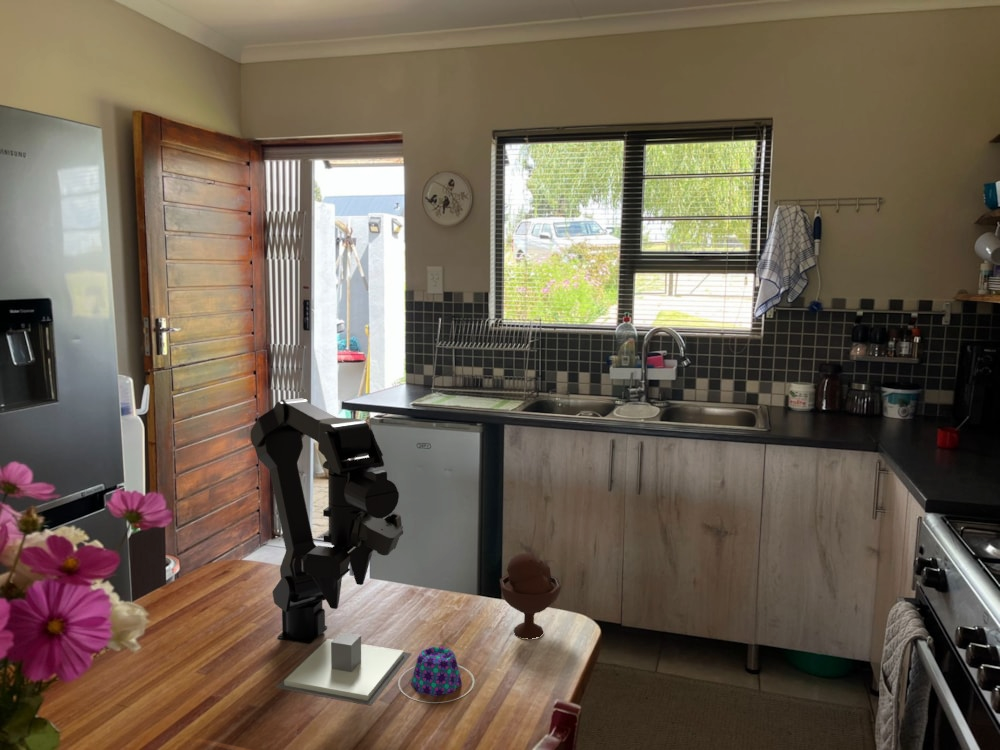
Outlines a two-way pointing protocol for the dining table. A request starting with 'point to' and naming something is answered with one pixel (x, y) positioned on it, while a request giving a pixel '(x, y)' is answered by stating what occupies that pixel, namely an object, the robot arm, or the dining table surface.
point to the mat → (344, 698)
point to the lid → (345, 667)
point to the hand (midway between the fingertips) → (347, 595)
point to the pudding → (436, 673)
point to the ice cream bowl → (529, 591)
